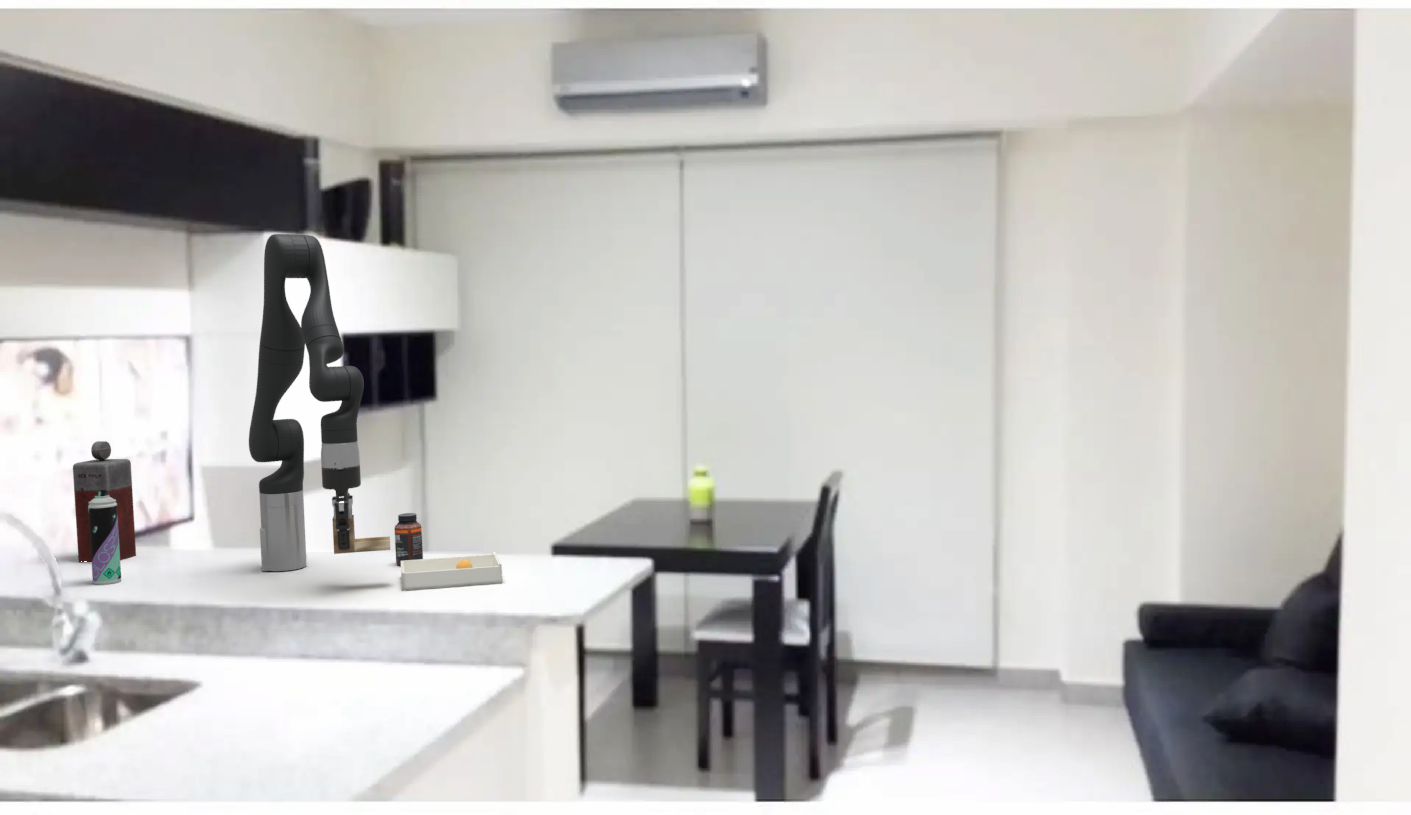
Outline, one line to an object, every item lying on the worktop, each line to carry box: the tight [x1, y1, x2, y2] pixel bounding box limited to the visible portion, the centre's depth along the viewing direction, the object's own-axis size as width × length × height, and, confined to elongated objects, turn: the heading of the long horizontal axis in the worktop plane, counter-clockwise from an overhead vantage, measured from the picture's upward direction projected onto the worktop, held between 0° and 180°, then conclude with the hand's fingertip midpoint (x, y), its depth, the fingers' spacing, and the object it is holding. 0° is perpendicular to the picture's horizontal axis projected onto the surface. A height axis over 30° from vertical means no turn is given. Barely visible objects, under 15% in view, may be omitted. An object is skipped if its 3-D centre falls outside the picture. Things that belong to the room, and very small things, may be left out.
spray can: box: [88, 490, 122, 586], centre depth 256 cm, size 6×6×20 cm
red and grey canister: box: [72, 440, 137, 563], centre depth 283 cm, size 9×11×28 cm
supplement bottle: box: [394, 512, 424, 567], centre depth 269 cm, size 6×6×11 cm
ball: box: [456, 560, 472, 569], centre depth 252 cm, size 3×3×3 cm
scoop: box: [332, 514, 391, 555], centre depth 246 cm, size 11×5×7 cm, turn 105°
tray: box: [400, 551, 503, 592], centre depth 251 cm, size 20×14×4 cm
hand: (344, 546), depth 245 cm, fingers closed on scoop, 5 cm apart
